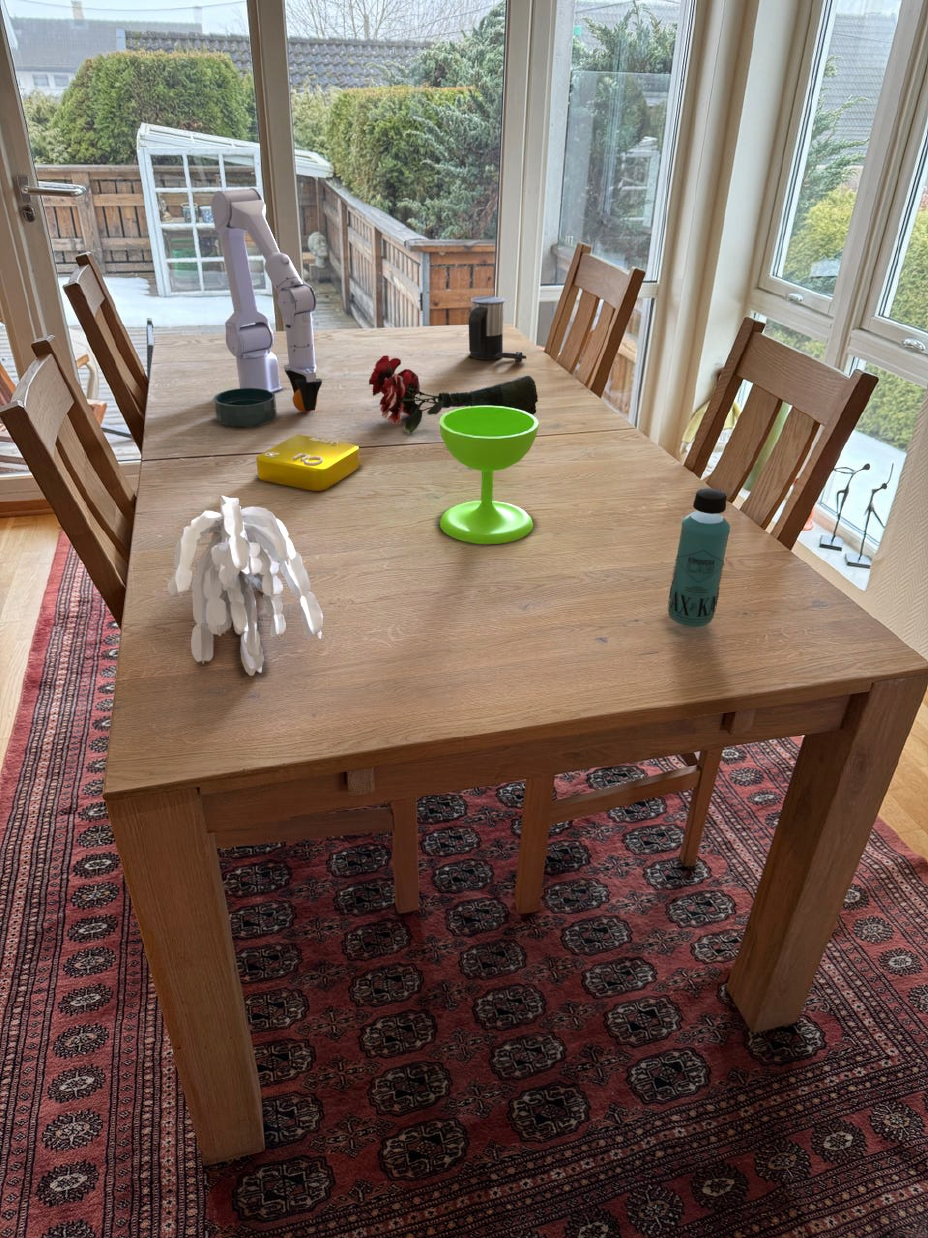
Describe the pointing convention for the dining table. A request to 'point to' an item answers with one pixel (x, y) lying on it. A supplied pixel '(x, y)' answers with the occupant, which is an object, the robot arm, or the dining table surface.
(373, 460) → the dining table surface
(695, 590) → the beverage bottle
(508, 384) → the carnation
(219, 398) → the bowl
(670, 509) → the dining table surface
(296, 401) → the mandarin
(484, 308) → the milk frother
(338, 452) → the element tile
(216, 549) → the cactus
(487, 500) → the wineglass
